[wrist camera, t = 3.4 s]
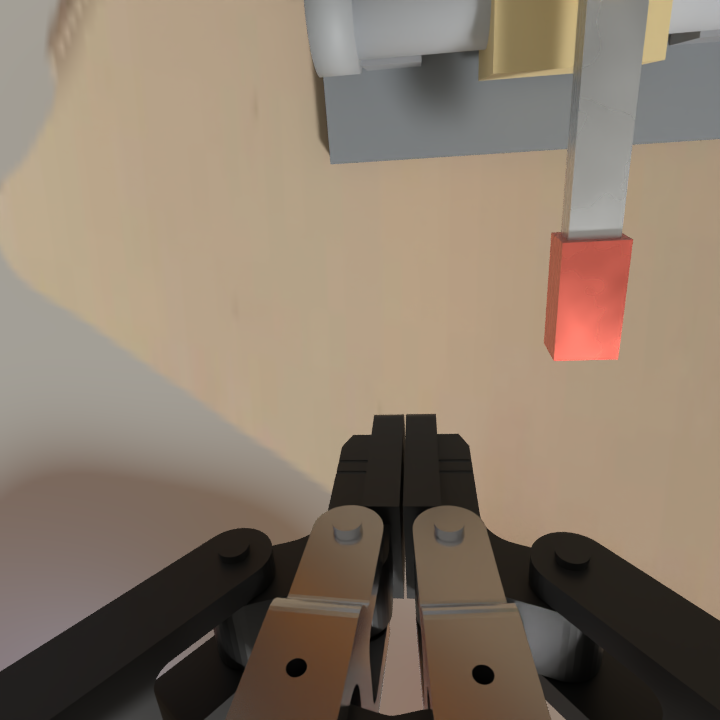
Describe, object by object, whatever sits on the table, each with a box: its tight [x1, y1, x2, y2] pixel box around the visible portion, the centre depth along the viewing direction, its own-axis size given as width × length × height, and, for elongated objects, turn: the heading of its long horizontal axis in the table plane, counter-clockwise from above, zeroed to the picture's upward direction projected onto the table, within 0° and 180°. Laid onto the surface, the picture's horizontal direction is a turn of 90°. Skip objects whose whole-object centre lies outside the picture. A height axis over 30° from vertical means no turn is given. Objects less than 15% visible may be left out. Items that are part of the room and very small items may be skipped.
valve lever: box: [544, 0, 649, 361], centre depth 21 cm, size 16×3×2 cm, turn 4°
